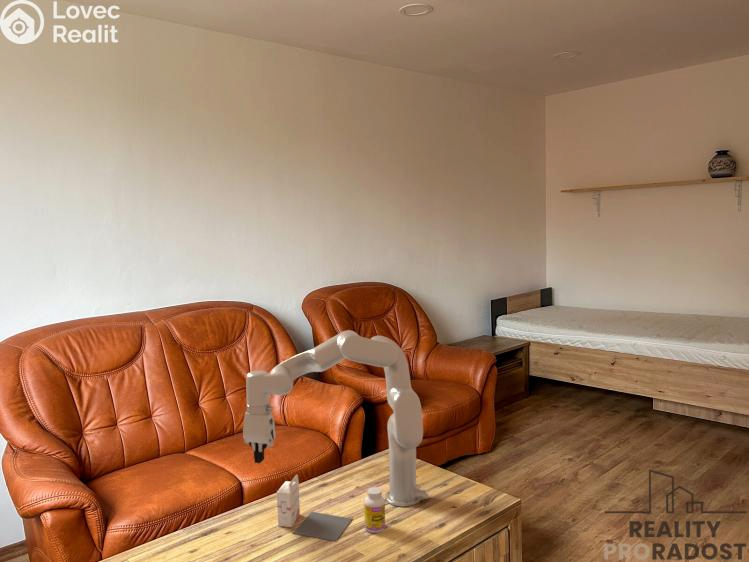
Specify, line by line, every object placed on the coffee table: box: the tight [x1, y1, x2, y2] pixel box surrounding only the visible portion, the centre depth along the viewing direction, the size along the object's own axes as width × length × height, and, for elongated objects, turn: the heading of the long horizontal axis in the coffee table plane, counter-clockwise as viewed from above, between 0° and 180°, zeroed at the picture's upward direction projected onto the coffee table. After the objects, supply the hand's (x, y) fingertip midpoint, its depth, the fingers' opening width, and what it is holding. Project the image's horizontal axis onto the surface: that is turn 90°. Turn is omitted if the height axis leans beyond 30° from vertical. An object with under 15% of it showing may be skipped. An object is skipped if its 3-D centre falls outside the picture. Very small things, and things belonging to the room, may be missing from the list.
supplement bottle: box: [363, 486, 386, 534], centre depth 185 cm, size 7×7×13 cm
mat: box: [292, 511, 353, 543], centre depth 187 cm, size 15×14×1 cm
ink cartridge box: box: [276, 474, 301, 528], centre depth 191 cm, size 9×5×15 cm, turn 168°
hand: (259, 461), depth 192 cm, fingers closed
